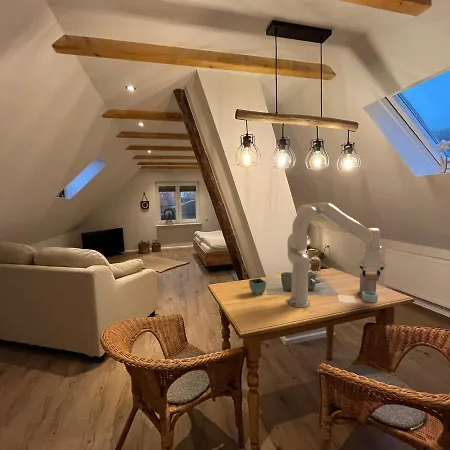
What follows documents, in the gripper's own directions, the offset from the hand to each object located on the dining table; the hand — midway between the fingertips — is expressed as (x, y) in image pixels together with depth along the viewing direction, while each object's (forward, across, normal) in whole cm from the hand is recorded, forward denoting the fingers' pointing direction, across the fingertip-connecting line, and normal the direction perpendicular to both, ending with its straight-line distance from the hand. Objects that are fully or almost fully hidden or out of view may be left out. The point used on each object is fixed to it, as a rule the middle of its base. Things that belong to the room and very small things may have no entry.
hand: (370, 276), depth 173 cm
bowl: (+15, 0, 0) cm, 15 cm away
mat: (+15, +14, +2) cm, 20 cm away
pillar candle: (+15, -1, -12) cm, 20 cm away
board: (+1, 0, 0) cm, 1 cm away
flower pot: (+15, +70, +6) cm, 71 cm away
